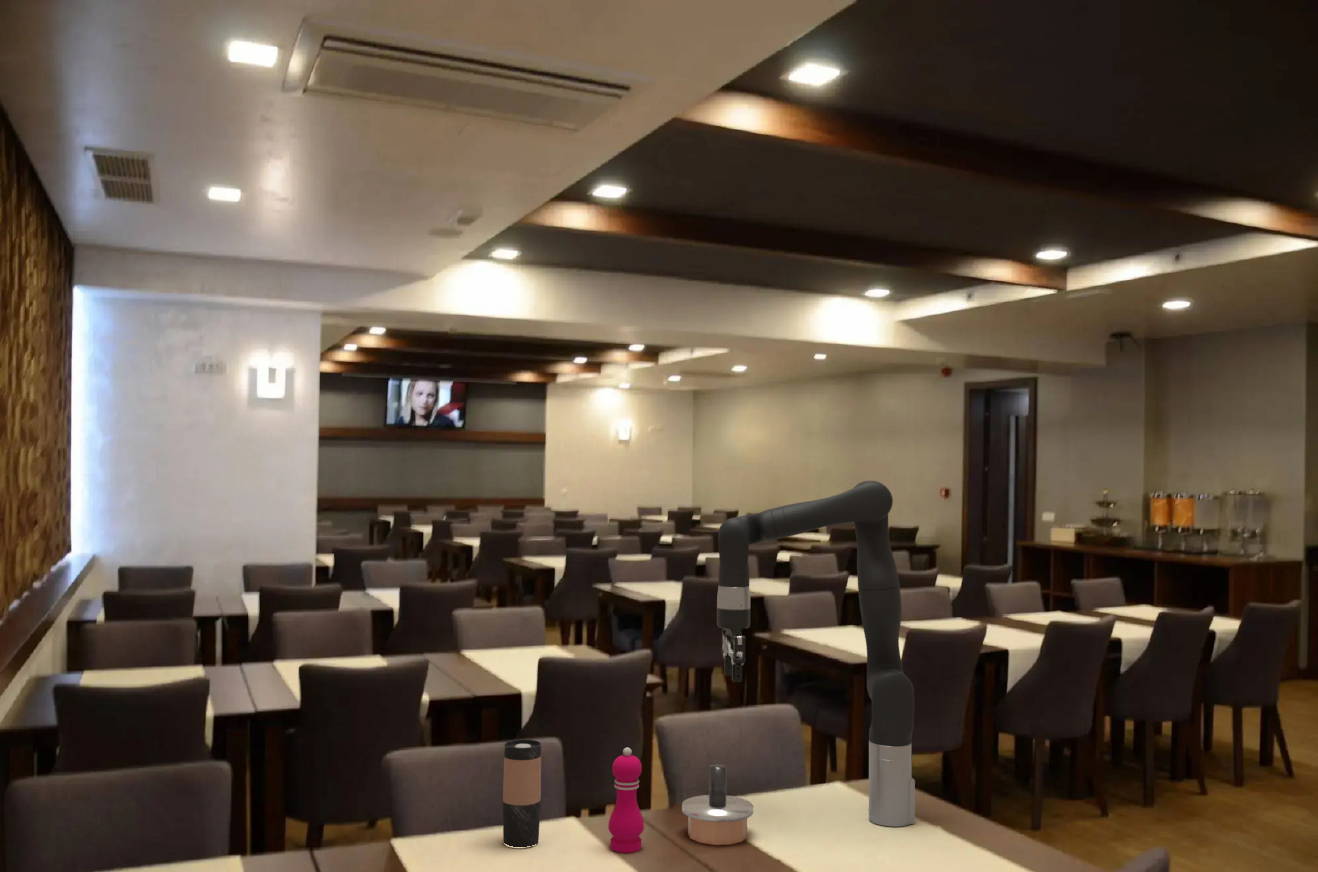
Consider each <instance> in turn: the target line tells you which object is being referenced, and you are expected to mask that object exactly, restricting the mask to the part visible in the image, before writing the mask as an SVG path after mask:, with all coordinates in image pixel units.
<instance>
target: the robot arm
mask: <svg viewBox="0 0 1318 872" xmlns="http://www.w3.org/2000/svg"><path fill="white" fill-rule="evenodd" d="M893 501H894V500H893V495H892V492H891V490H889V488H888V487H887V485H885V484H883V483H882V482H879V481H877V480H865V481H861V482H859V483H857V484H856V485H855V486H854V487H853V488H851V489H848V490H845V491H843V492H841V493H838V494H836V495H831V496H829V497H825V498H819V499H814V500H809V501H802V502H795V503H791V504H785V505H781V506H778V507H773V508H769V509H767V510H763V511H761V512H757V513H756V512H755V513H752V514H746V515H741V516H735V517H730V518H728V519H726V520H725V521H723V522H722V523H721V524H720V526H719V529H718V537H717V538H718V557H719V565H718V566H719V567H718V587H717V588H718V589H717V596H716V597H717V598H716V599H717V600H716V603H717V604H716V626H717V627H718V628H719V629H722V630H721V635H722V636H721V655H722V657H723V659H724V661H723V662H724V663H723V665H724V666H723V668H724V671H723V674H724V675H725V676H731V681H732V682H733V683H741V682H742V681H743V666H744V664H746V661H747V660H746V640H747V638H746V636H745V635H742V630H743V629H744V630H745V629H748V628H750V627H751V591H750V565H749V552H750V548H749V547H750V545H753V544H757V543H760V542H761V543H762V542H763V541H775V540H780V539H784V538H788V537H792V536H796V535H801V534H804V533H807V532H811V531H815V530H818V529H821V528H825V527H829V526H833V525H839V524H846V523H853V527H854V532H855V533H854V534H855V538H856V546H857V549H856V550H857V553H856V571H857V573H856V574H857V576H856V577H857V590H858V591H857V592H858V599H859V609H860V616H861V622H862V628H863V633H864V634H863V635H864V638H865V645H866V690H867V693H868V696H869V699H870V700H871V721H870V722H871V723H870V727H869V730H868V820H869V821H870V822H872V823H873V824H876V825H880V826H884V827H894V828H895V827H896V828H897V827H905V826H909V825H914V824H916V817H915V816H916V812H915V811H916V810H915V809H916V794H915V793H916V787H915V784H916V780H915V779H914V778H913V777H912V735H913V732H914V726H915V725H914V724H915V689H914V685H913V682H912V681H911V680H910V678H909V677H908V676H907V675H905V673H904V669H903V663H902V659H901V653H900V646H899V645H900V642H899V641H900V632H901V622H902V610H903V609H902V595H901V586H900V579H899V573H898V569H897V565H896V562H895V557H894V553H893V551H892V548H891V547H892V546H891V542H890V535H889V534H890V533H889V529H890V528H889V514H890V512H891V510H892V509H893V503H894V502H893Z"/></svg>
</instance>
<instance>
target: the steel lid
mask: <svg viewBox="0 0 1318 872" xmlns="http://www.w3.org/2000/svg"><path fill="white" fill-rule="evenodd" d="M708 771H709V773H708V774H709V776H708V777H709V778H708V780H709V781H708V782H709V783H708V794H703V795H696V796H692V797H691V796H690V797H689V798H686V799H684V800H683V801H682V804H681V811H682V813H683V815H686V816H687V817H688V816H689V817H691V818H694V819H698V820H704V821H713V822H730V821H738V820H742V819H746V818H747V819H748V818H750V817H752V815H754V805H753V803H752V802H751V801H749V800H747V799H745V798H742V797H738V796H733V795H727V765H725V764H720V763H719V764H718V763H716V764H715V763H714V764H710V765H709V770H708Z"/></svg>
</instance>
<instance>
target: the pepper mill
mask: <svg viewBox="0 0 1318 872" xmlns="http://www.w3.org/2000/svg"><path fill="white" fill-rule="evenodd" d="M632 752H633V751H632V749H631V748H630V747H625V748H623V750H622V755H619V756H617V758H615V760H614V761H613V763H612V768H611V770H612V774H613V776H614V777H615V779H614V788H615V789H616V801H615V805H614V808H613V810H612V811H611V814H610V816H609V820H608V827H607V828H608V831H609V833H610V834H611V835H612V836H611V838H610V849H611V850H612V851H613V852H616V853H622V854H629V853H636V852H639V851H641V849H642V838H641V837H640V836H641V834H642V833H644V829H645V821H644V818H643V815H642V813H641V810H640V807H639V805H638V800H637V799H638V798H637V791H638V788H639V787H640V785H639V783H640V780H639V779H638V778H639V777H641V774H642V772H643V771H642V770H643V767H642V766H643V765H642V762H641V761H640V759H639V758H638V757H637V756H635V755H632Z"/></svg>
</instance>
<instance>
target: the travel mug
mask: <svg viewBox="0 0 1318 872" xmlns="http://www.w3.org/2000/svg"><path fill="white" fill-rule="evenodd" d="M503 752H504V756H503V758H504V759H503V762H504V763H503V781H502V782H503V784H502V785H503V786H502V787H503V788H502V831H503V832H502V835H503V837H502V839H503V840H502V841H504V843H505V844H507V845H509V846H513V847H527V846H532V845H535V844H537V843H538V844H539V840H540V839H539V837H540V819H541V799H542V797H541V796H542V795H541V793H542V790H541V789H542V788H541V787H542V786H541V785H542V783H541V781H542V742H540V741H538V740H533V739H513V740H509V741H506V742H505V743H504V751H503ZM504 843H503V844H504ZM538 844H537V845H538Z"/></svg>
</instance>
